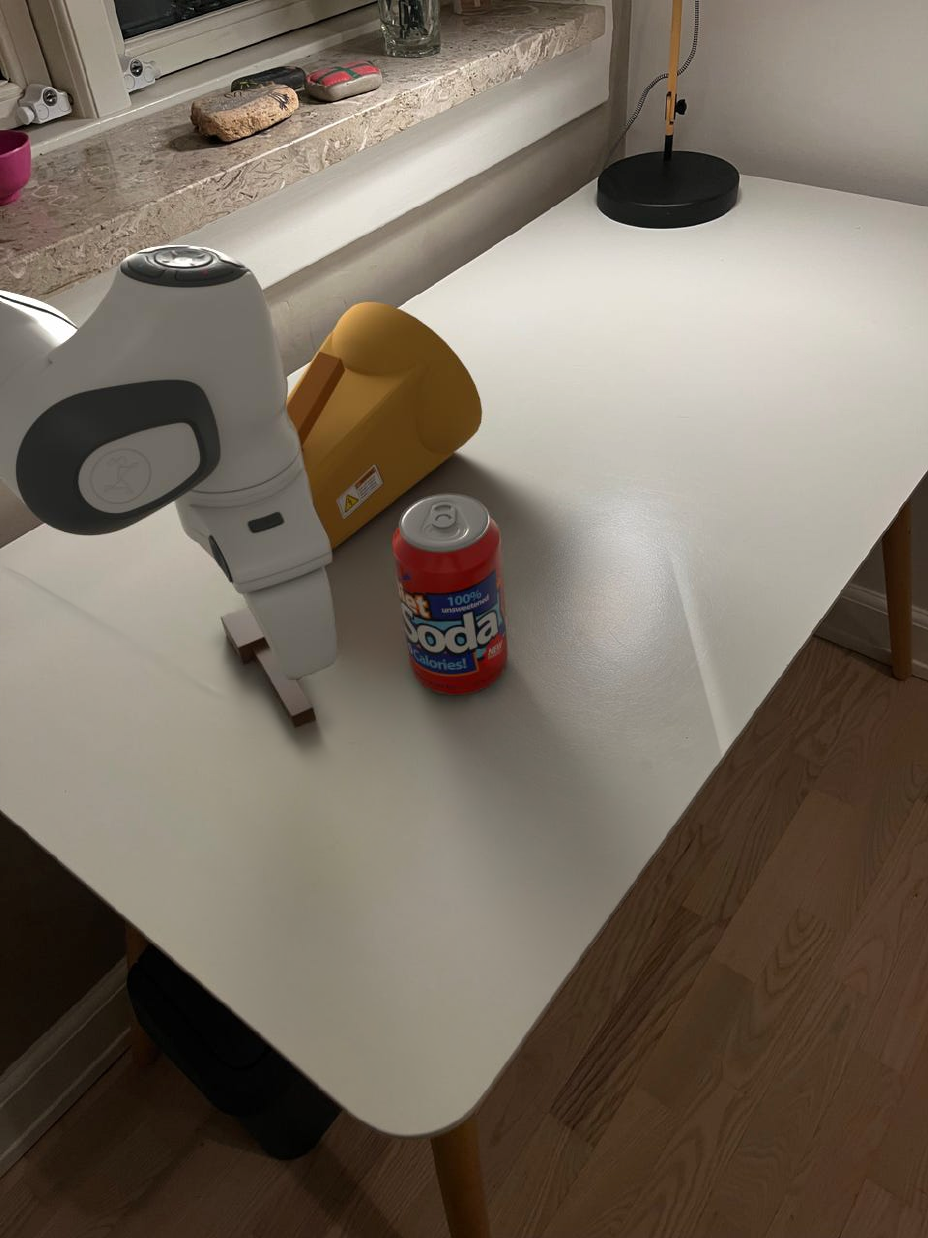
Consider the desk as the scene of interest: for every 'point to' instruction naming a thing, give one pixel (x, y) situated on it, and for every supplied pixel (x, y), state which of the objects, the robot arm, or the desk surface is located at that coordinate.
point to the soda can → (451, 593)
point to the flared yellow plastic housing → (378, 413)
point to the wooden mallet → (266, 664)
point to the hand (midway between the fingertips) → (279, 638)
